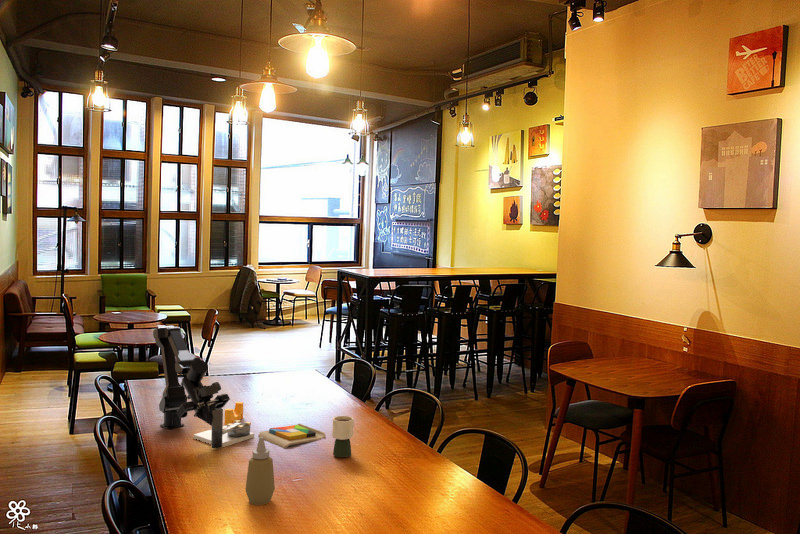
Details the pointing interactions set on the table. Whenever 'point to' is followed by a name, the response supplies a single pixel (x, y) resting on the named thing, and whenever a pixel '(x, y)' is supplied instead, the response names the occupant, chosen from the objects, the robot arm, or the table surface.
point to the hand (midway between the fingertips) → (214, 425)
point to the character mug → (342, 435)
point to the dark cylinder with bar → (232, 429)
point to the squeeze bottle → (260, 476)
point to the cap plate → (226, 439)
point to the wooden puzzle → (291, 435)
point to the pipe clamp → (234, 413)
